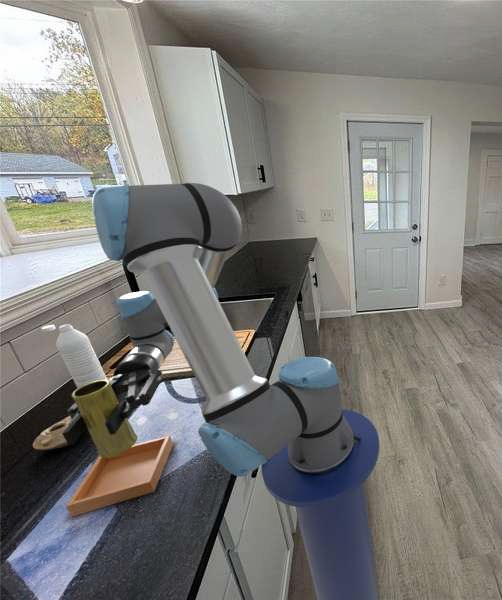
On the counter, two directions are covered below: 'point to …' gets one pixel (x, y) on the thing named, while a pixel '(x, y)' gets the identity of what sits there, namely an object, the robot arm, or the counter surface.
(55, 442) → the pottery oil lamp
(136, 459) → the wooden tray
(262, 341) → the counter surface
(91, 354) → the water bottle
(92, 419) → the vase
